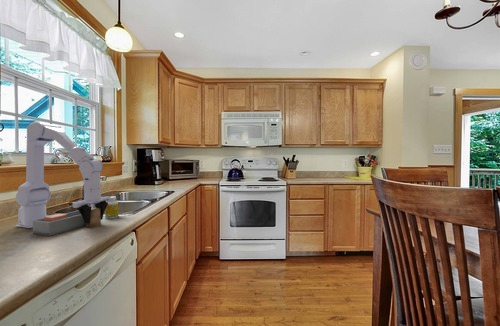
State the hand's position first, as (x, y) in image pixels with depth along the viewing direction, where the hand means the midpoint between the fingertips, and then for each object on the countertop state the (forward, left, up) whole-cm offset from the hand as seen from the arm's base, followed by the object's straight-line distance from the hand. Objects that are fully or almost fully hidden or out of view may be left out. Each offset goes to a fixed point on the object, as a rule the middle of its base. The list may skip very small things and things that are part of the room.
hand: (93, 221), depth 93 cm
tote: (-9, -4, -2) cm, 10 cm away
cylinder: (0, 0, -2) cm, 2 cm away
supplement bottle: (-5, +12, -2) cm, 13 cm away
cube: (-8, -9, -1) cm, 12 cm away
